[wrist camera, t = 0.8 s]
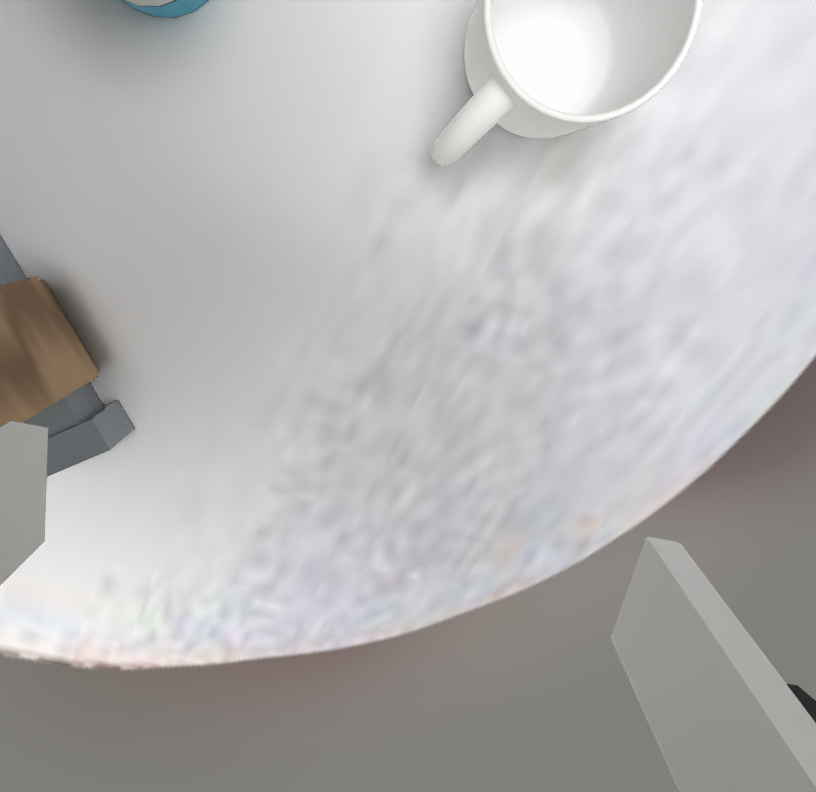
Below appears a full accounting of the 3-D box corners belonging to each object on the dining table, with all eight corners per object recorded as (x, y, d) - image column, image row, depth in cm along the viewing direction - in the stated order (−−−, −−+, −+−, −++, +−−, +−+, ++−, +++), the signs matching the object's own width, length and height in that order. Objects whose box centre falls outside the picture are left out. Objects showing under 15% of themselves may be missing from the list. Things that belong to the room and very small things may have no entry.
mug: (478, 220, 37) (503, 232, 27) (377, 102, 35) (365, 69, 25) (651, 62, 34) (748, 12, 25) (553, -74, 33) (616, -187, 23)
